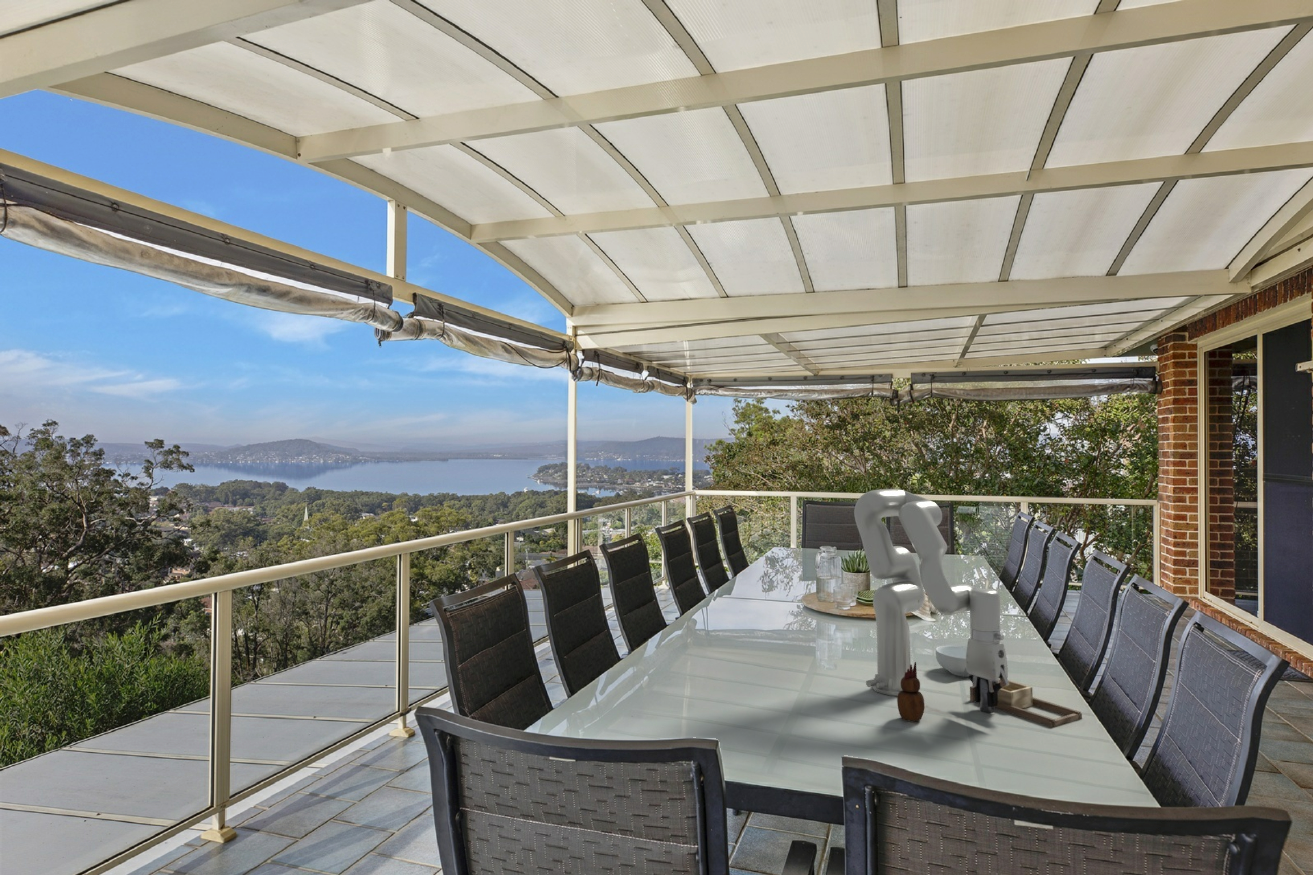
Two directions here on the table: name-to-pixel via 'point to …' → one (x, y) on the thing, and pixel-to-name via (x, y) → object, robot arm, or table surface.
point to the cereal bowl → (952, 659)
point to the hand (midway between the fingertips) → (986, 703)
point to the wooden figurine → (910, 697)
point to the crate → (1016, 695)
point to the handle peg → (984, 696)
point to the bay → (1070, 713)
